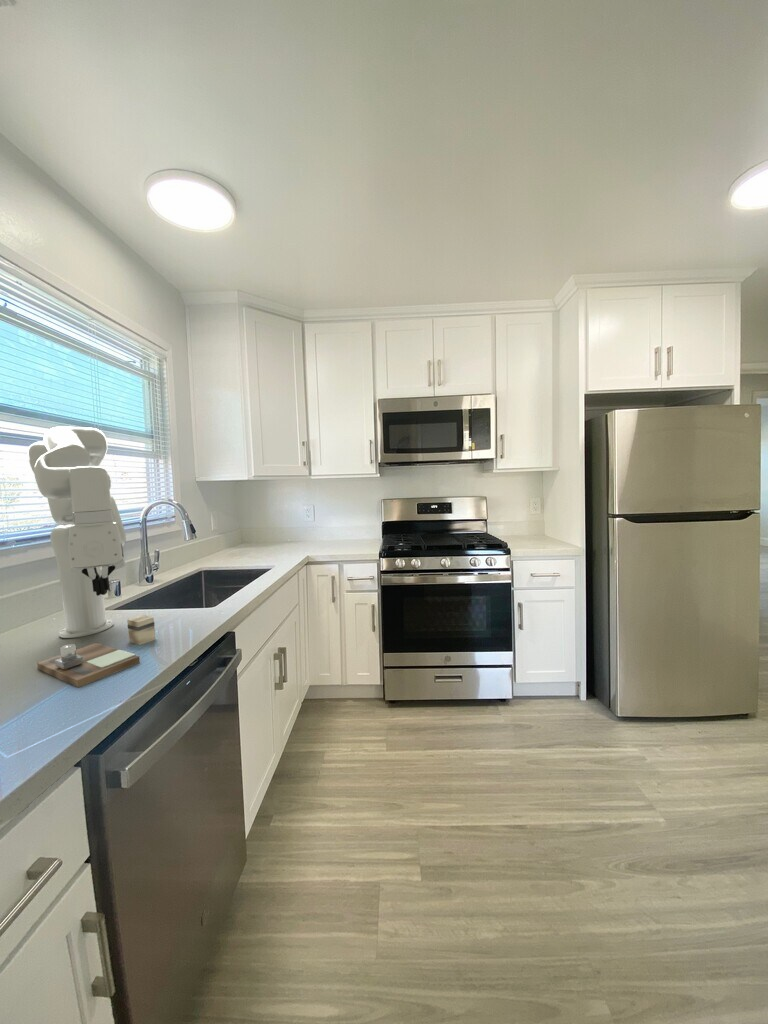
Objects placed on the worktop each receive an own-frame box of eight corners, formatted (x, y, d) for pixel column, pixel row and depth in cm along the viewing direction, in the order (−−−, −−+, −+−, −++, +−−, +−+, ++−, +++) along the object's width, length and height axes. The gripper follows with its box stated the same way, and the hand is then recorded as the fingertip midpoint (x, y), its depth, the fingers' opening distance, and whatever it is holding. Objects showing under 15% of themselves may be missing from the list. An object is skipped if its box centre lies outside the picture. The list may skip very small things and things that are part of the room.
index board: (37, 669, 90) (36, 662, 90) (97, 648, 101) (96, 642, 101) (78, 687, 80) (77, 680, 80) (139, 662, 90) (139, 655, 90)
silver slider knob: (56, 666, 87) (53, 647, 86) (75, 659, 90) (73, 641, 89) (64, 669, 85) (61, 651, 84) (83, 662, 88) (81, 644, 87)
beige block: (129, 642, 104) (126, 619, 103) (145, 636, 107) (143, 614, 107) (139, 645, 101) (137, 622, 101) (156, 639, 105) (153, 617, 104)
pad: (86, 662, 89) (86, 661, 89) (120, 650, 95) (119, 649, 95) (101, 668, 85) (101, 667, 85) (135, 655, 91) (135, 654, 91)
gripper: (48, 522, 88) (58, 603, 90) (127, 516, 94) (135, 592, 96) (59, 520, 95) (68, 595, 97) (132, 515, 101) (140, 585, 103)
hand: (102, 593), depth 96 cm, fingers closed
